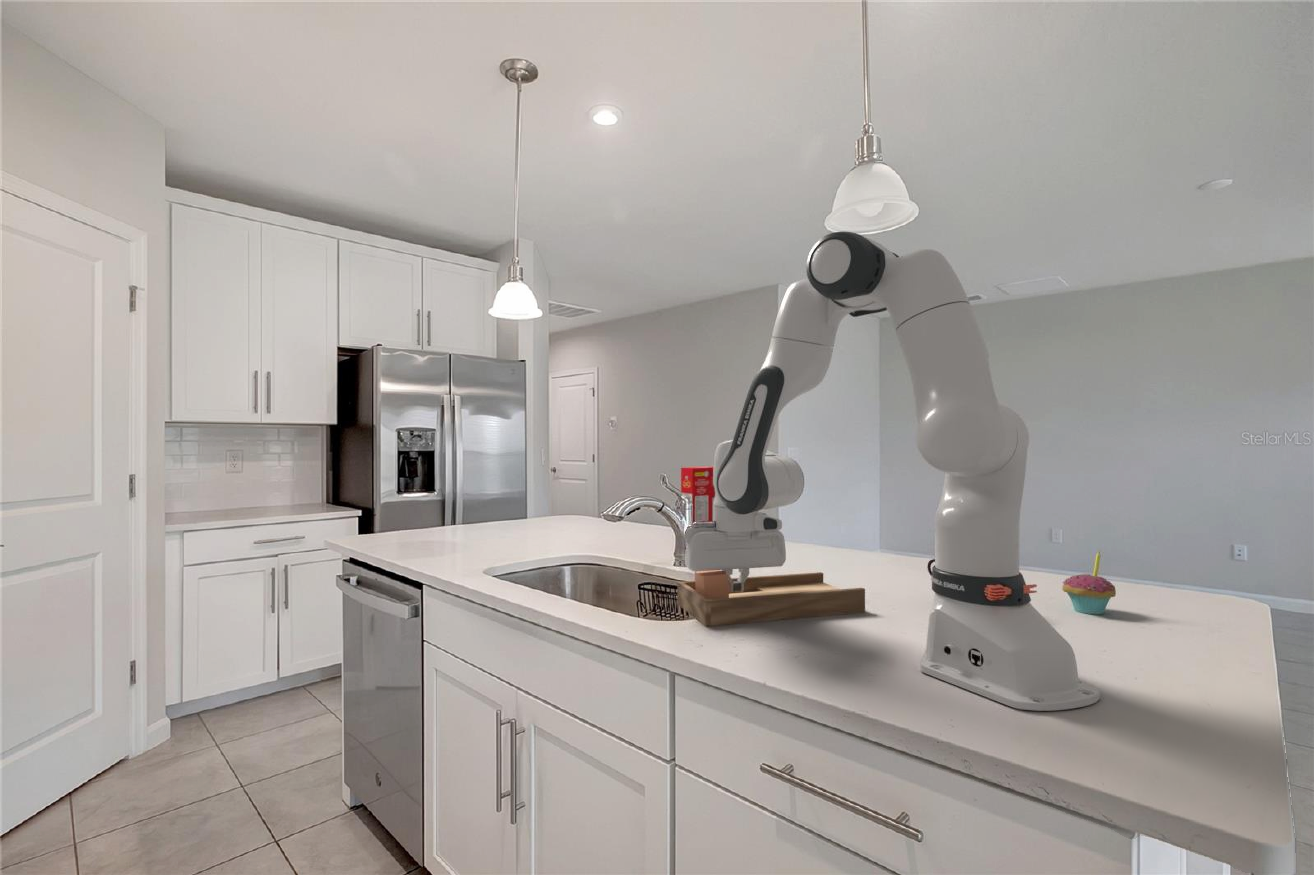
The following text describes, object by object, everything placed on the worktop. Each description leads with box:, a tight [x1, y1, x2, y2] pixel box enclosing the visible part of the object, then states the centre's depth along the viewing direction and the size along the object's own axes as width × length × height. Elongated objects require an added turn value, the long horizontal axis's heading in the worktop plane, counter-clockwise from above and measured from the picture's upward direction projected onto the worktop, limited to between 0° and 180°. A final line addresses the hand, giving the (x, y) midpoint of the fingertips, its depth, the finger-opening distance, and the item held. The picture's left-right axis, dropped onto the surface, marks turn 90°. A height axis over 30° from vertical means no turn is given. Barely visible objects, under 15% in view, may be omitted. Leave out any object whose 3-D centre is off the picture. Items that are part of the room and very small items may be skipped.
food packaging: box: [680, 466, 715, 528], centre depth 197 cm, size 15×5×25 cm, turn 130°
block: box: [694, 570, 729, 599], centre depth 121 cm, size 5×5×5 cm
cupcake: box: [1061, 549, 1117, 615], centre depth 121 cm, size 9×8×12 cm
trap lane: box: [676, 571, 866, 627], centre depth 124 cm, size 16×33×4 cm, turn 106°
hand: (735, 591), depth 122 cm, fingers closed
